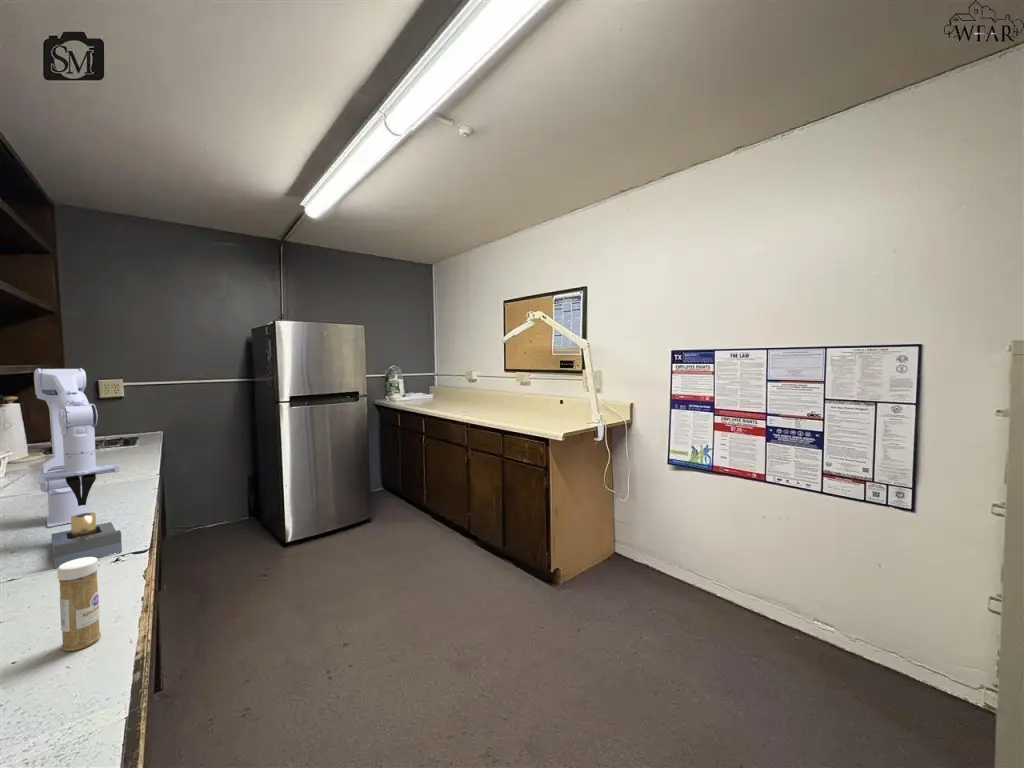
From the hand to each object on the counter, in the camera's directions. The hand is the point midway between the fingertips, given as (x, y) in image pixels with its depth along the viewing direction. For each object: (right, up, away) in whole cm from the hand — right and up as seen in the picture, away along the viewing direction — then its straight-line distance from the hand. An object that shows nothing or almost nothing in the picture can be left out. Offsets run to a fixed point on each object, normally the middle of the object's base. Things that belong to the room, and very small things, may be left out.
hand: (81, 504), depth 109 cm
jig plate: (+6, -9, -4) cm, 12 cm away
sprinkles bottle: (+41, -11, -40) cm, 58 cm away
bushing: (+2, -9, -1) cm, 10 cm away
